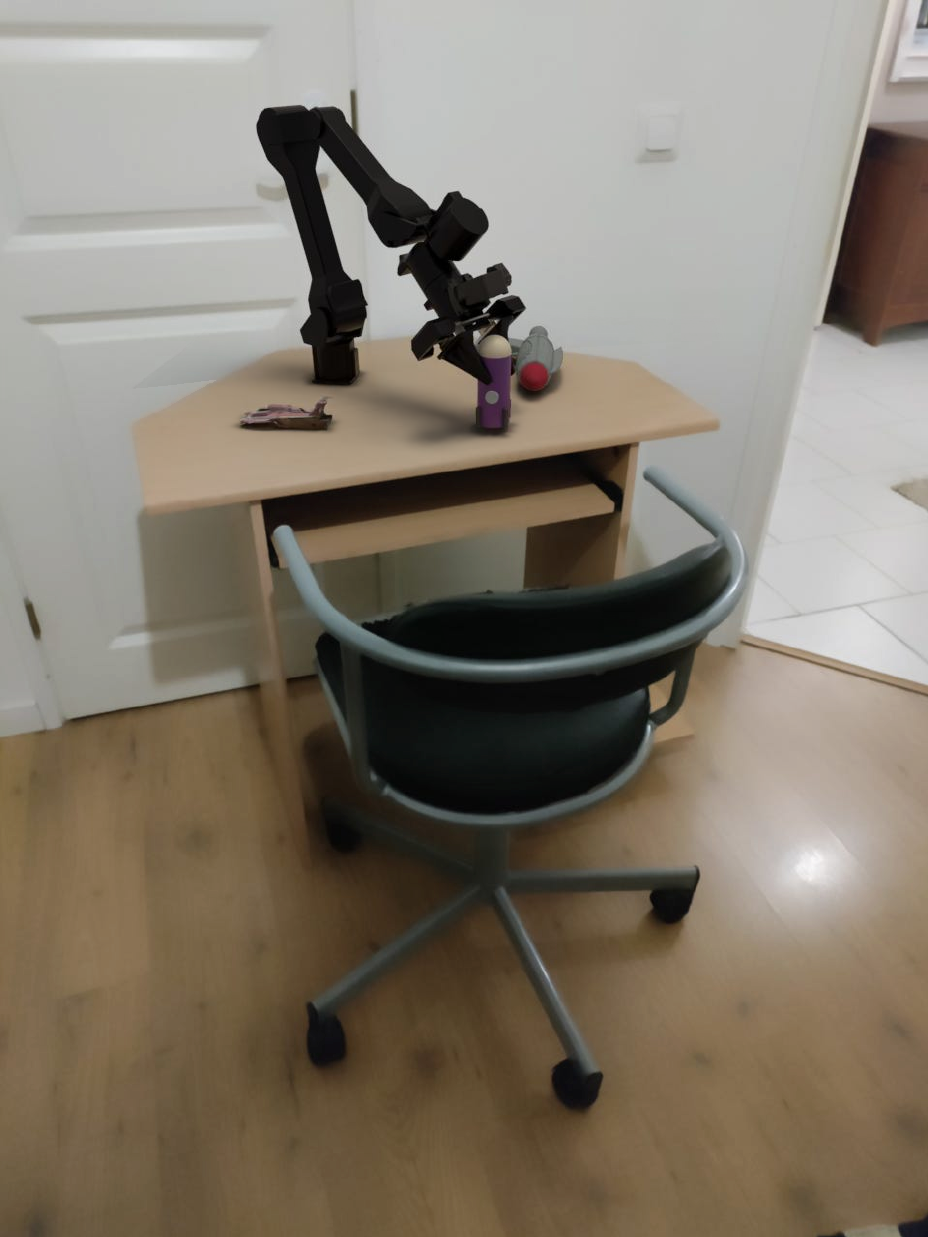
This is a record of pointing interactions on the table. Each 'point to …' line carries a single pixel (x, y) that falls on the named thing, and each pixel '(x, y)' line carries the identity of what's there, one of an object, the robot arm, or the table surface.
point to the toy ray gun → (534, 358)
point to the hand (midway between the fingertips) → (501, 379)
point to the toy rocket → (494, 384)
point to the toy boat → (291, 415)
